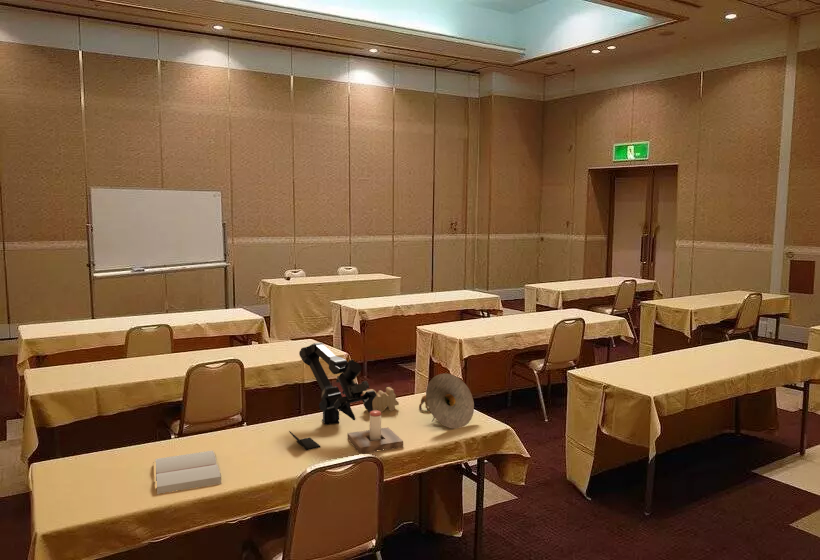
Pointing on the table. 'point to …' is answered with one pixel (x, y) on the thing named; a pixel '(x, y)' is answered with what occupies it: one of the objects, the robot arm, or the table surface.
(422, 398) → the lion figurine
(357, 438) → the jig plate
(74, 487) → the table surface
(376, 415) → the post
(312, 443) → the black spatula
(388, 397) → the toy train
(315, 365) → the robot arm
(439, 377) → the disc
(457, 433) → the table surface
